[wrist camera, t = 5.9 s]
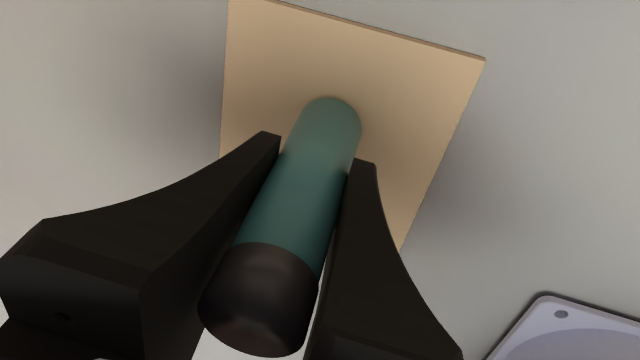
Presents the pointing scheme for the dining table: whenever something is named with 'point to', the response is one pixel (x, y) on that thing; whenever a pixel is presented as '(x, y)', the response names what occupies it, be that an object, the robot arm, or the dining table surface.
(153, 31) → the dining table surface
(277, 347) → the bottle
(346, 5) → the dining table surface
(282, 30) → the sketch pad
